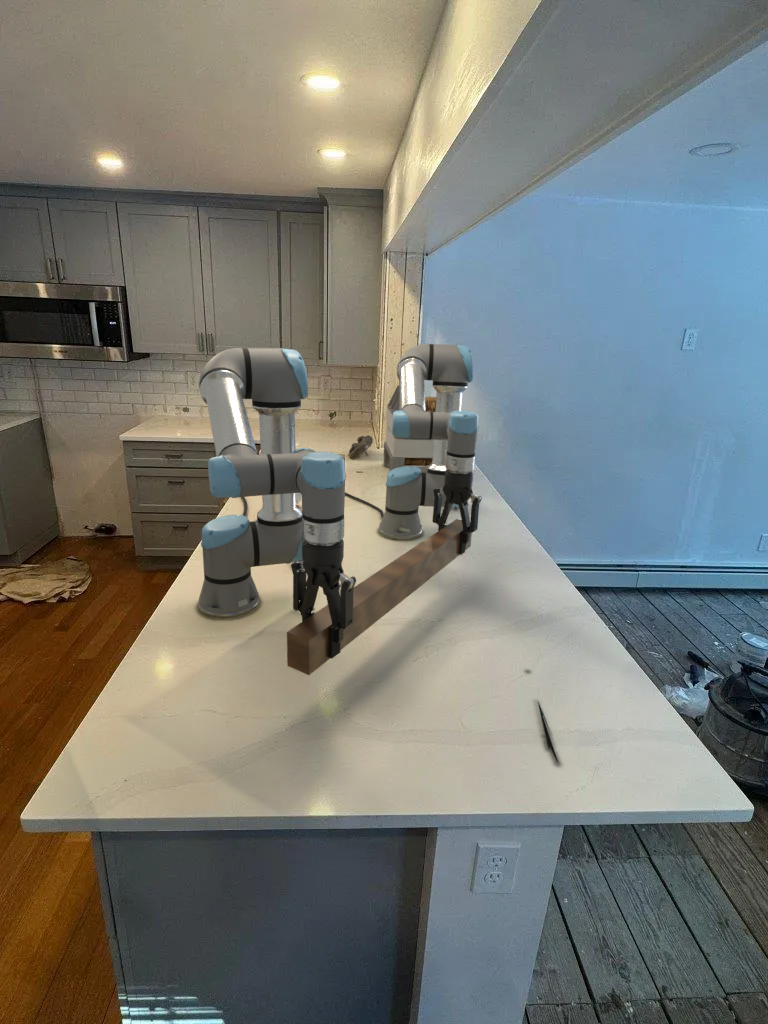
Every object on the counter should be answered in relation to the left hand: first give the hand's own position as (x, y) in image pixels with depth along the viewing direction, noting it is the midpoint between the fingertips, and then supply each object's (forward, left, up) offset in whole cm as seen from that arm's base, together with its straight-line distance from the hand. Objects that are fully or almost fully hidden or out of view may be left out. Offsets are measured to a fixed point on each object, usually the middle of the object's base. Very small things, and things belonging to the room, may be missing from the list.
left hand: (322, 649), depth 110 cm
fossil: (-177, +96, -12) cm, 202 cm away
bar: (-15, +26, -1) cm, 30 cm away
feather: (+22, +38, -12) cm, 45 cm away
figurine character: (-90, +95, -12) cm, 131 cm away
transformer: (-136, +108, -12) cm, 174 cm away
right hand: (-30, +52, 0) cm, 60 cm away
